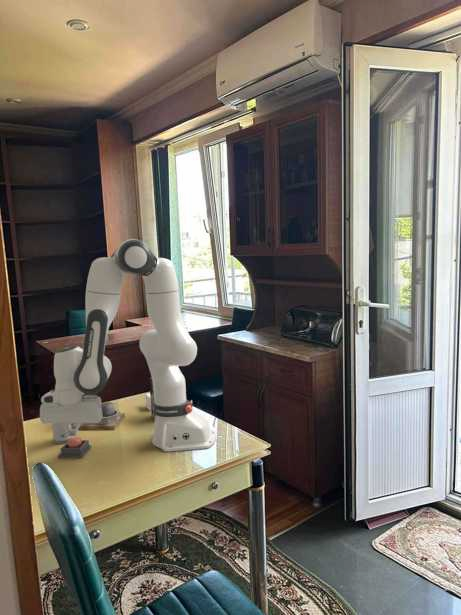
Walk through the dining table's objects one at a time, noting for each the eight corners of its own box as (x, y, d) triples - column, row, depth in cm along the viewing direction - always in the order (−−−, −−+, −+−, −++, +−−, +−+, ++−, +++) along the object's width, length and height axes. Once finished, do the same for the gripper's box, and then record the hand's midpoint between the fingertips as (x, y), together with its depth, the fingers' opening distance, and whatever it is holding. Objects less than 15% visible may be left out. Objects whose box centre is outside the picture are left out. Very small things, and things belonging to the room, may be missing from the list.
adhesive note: (159, 404, 202) (159, 391, 201) (164, 408, 197) (163, 395, 196) (146, 407, 199) (145, 393, 198) (150, 411, 194) (150, 397, 193)
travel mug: (67, 444, 164) (62, 389, 161) (50, 443, 165) (45, 389, 162) (76, 437, 170) (71, 384, 167) (59, 436, 171) (55, 383, 168)
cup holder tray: (124, 416, 188) (123, 399, 187) (114, 429, 176) (113, 410, 175) (72, 417, 190) (70, 399, 189) (58, 429, 177) (56, 411, 176)
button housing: (91, 447, 161) (90, 439, 160) (82, 458, 153) (81, 449, 152) (69, 447, 161) (68, 439, 161) (58, 458, 153) (58, 449, 153)
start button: (83, 443, 159) (83, 437, 158) (78, 448, 154) (78, 442, 154) (71, 443, 159) (70, 437, 159) (65, 448, 155) (65, 442, 154)
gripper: (104, 392, 156) (106, 431, 158) (45, 392, 158) (48, 431, 160) (97, 398, 150) (100, 439, 152) (36, 398, 152) (39, 438, 153)
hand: (73, 435), depth 156 cm, fingers closed
